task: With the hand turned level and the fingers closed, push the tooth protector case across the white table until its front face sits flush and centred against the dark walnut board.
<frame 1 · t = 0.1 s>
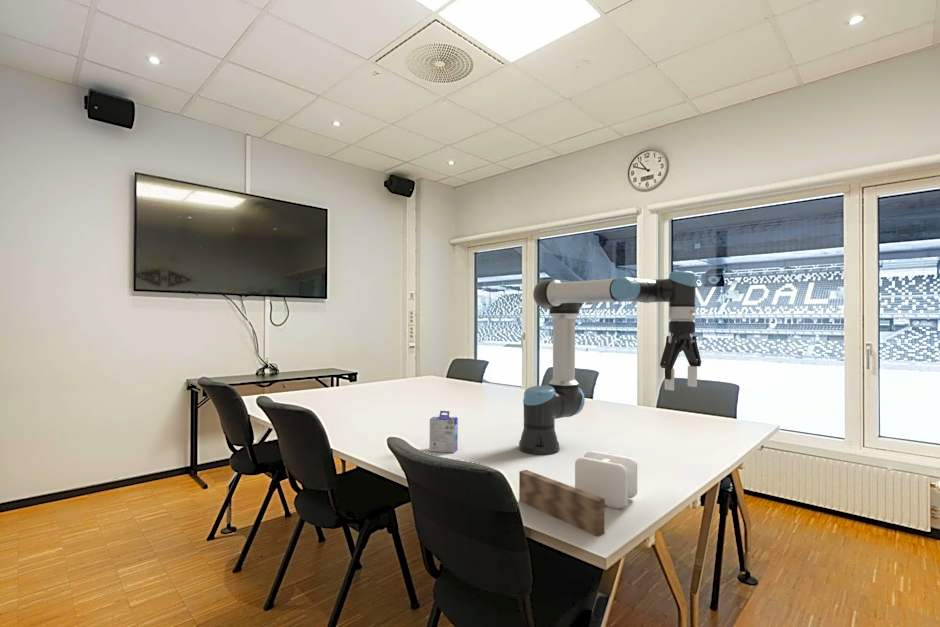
hand: (681, 388, 149), 28 cm above the table, tool pointing down, fingers open, 13 cm apart
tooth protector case: (605, 500, 131), on the table
ink cartridge box: (443, 451, 178), on the table
walnut board: (558, 515, 119), on the table
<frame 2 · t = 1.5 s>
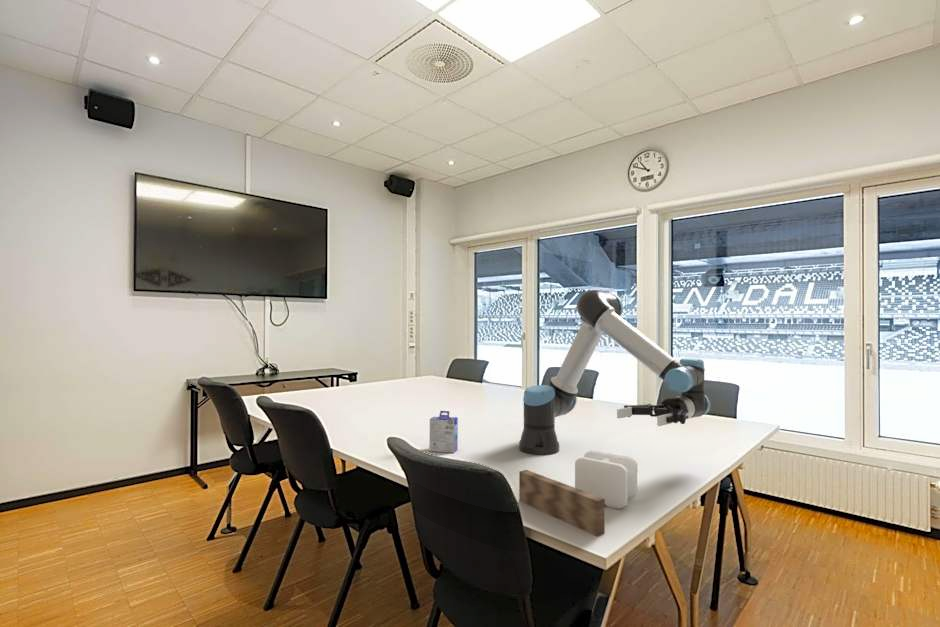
hand: (637, 417, 140), 20 cm above the table, tool horizontal, fingers open, 13 cm apart
nothing on the table moved.
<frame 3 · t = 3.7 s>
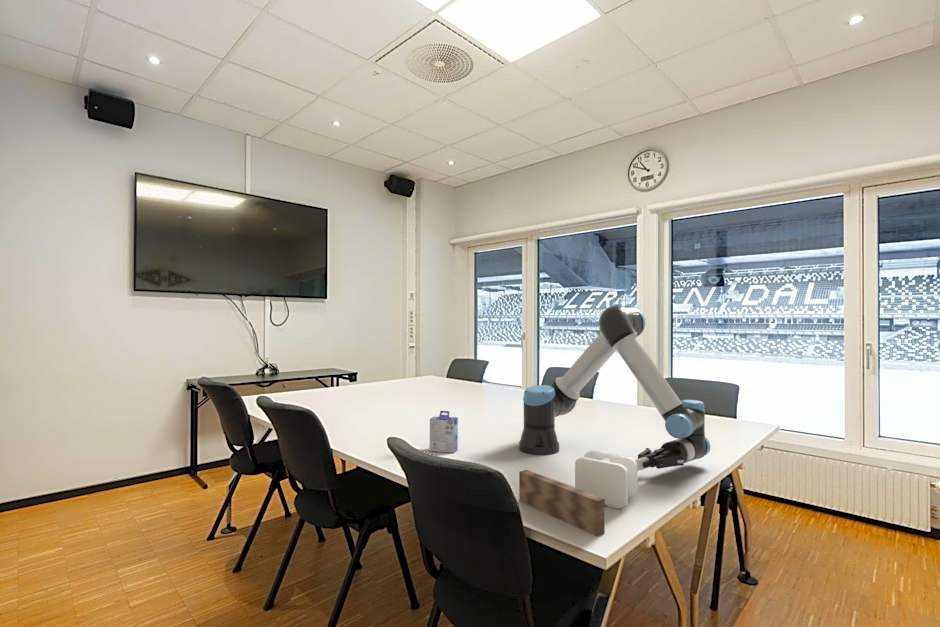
hand: (633, 466, 139), 7 cm above the table, tool horizontal, fingers closed
nothing on the table moved.
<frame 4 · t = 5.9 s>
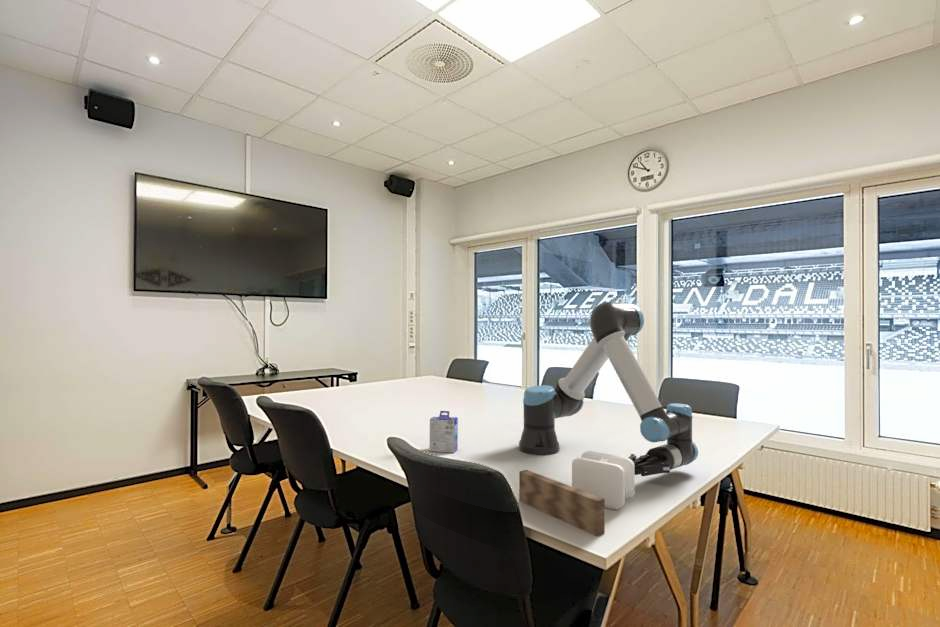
hand: (617, 473, 132), 6 cm above the table, tool horizontal, fingers closed
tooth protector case: (602, 500, 130), on the table, touching gripper
everything else where it was.
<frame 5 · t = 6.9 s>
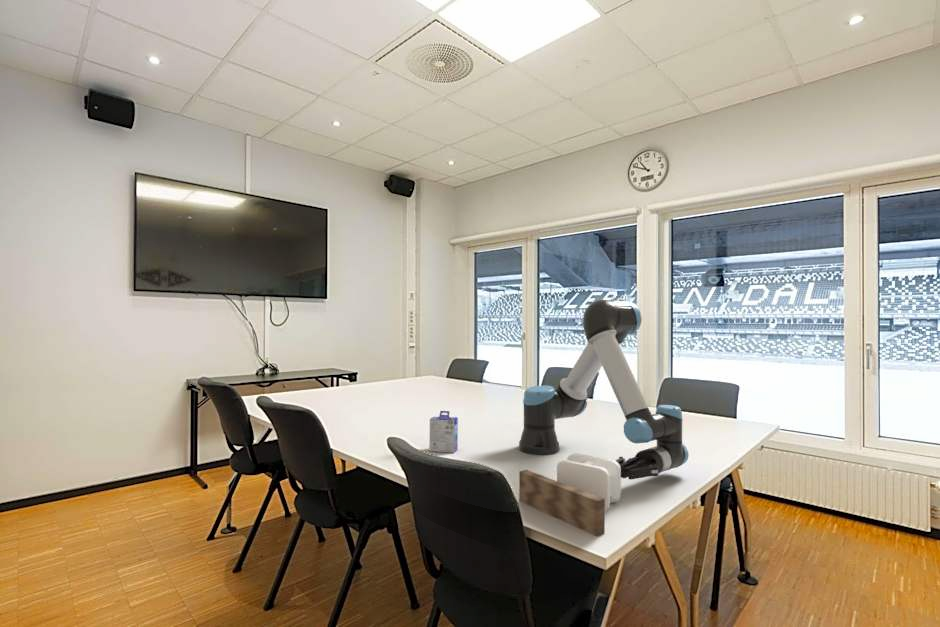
hand: (603, 476, 129), 6 cm above the table, tool horizontal, fingers closed
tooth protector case: (587, 503, 128), on the table, touching gripper
everything else where it was.
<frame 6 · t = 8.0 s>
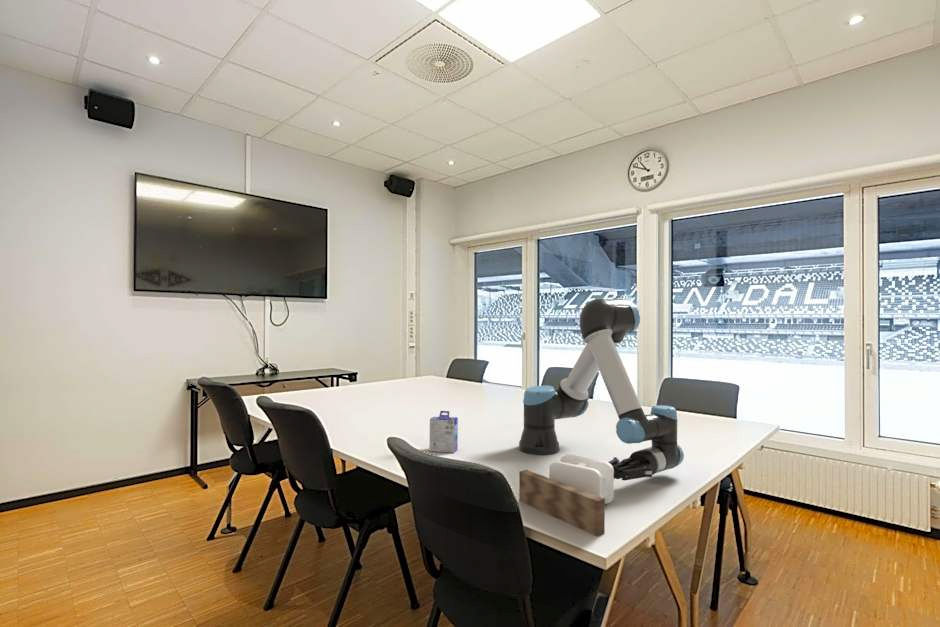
hand: (597, 477, 129), 7 cm above the table, tool horizontal, fingers closed
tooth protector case: (580, 505, 127), on the table
everything else where it was.
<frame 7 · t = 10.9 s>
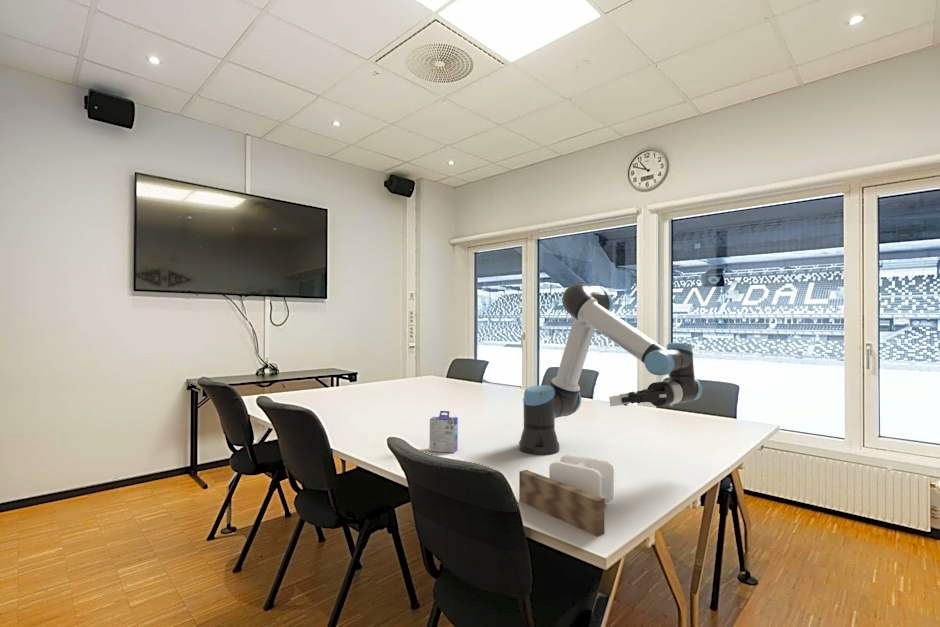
hand: (611, 401, 137), 26 cm above the table, tool horizontal, fingers closed
nothing on the table moved.
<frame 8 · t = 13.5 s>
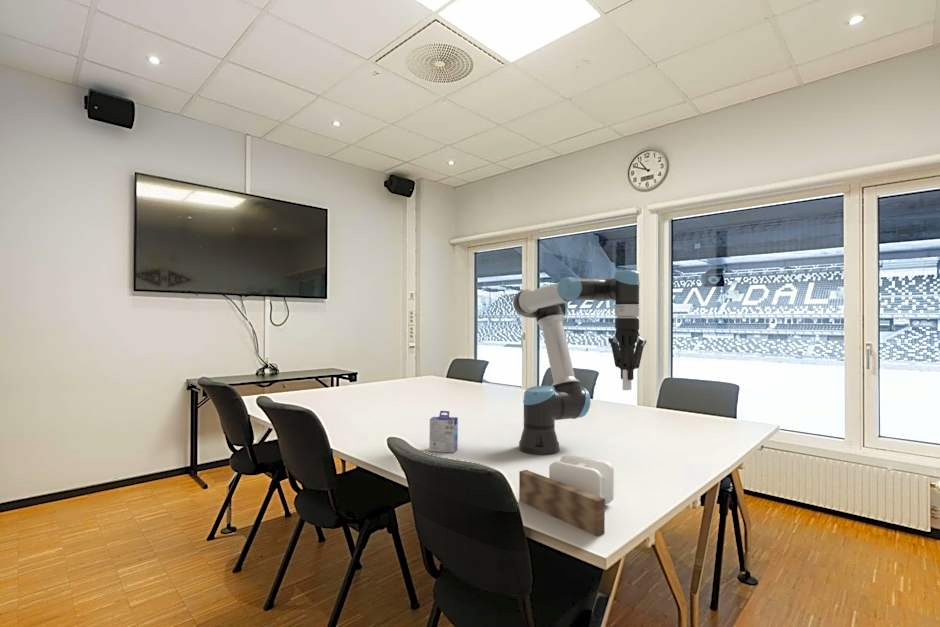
hand: (627, 389, 155), 26 cm above the table, tool pointing down, fingers closed
nothing on the table moved.
at the end: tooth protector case 2.2 cm from the target spot on the table beside the walnut board, on the table; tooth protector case tilted 0° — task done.
